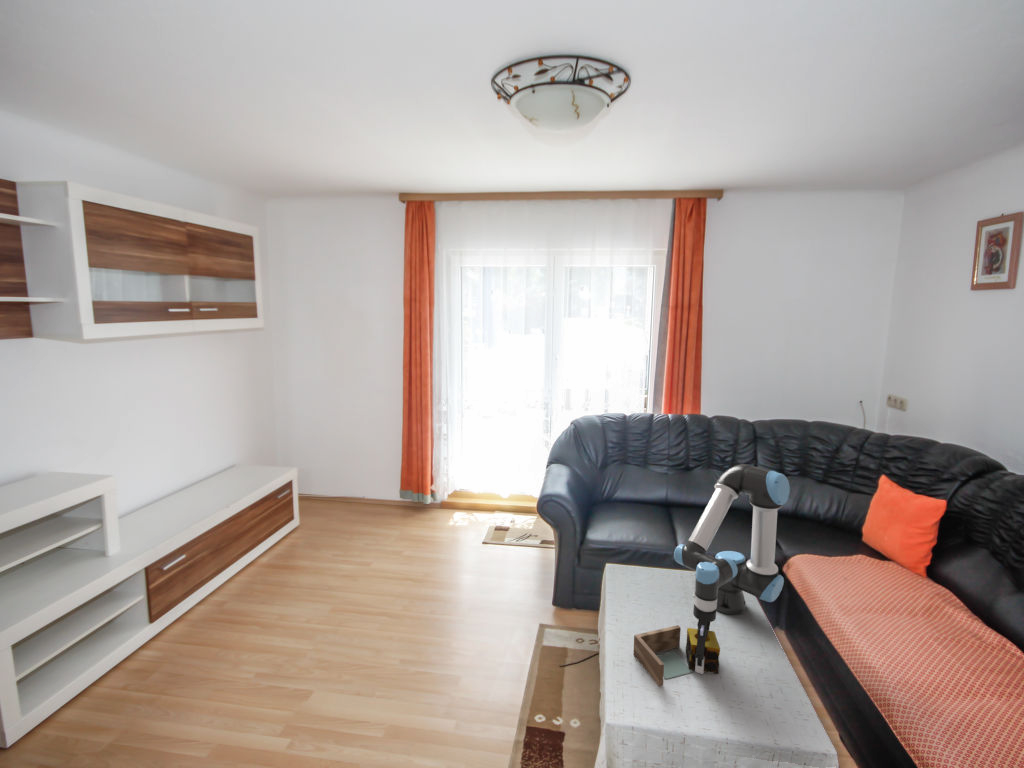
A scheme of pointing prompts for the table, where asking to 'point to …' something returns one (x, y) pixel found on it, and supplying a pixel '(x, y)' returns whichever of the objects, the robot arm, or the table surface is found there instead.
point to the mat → (673, 665)
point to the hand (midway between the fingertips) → (701, 661)
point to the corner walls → (655, 649)
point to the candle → (710, 651)
